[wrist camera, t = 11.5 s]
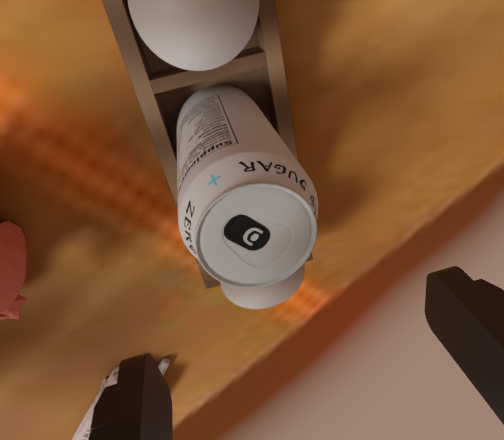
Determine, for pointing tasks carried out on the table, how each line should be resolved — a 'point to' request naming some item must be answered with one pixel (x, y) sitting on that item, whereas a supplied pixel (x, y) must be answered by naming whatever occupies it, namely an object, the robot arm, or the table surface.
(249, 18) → the rack
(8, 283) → the anatomical model
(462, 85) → the table surface
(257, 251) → the energy drink can
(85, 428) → the mobile phone
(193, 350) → the table surface
